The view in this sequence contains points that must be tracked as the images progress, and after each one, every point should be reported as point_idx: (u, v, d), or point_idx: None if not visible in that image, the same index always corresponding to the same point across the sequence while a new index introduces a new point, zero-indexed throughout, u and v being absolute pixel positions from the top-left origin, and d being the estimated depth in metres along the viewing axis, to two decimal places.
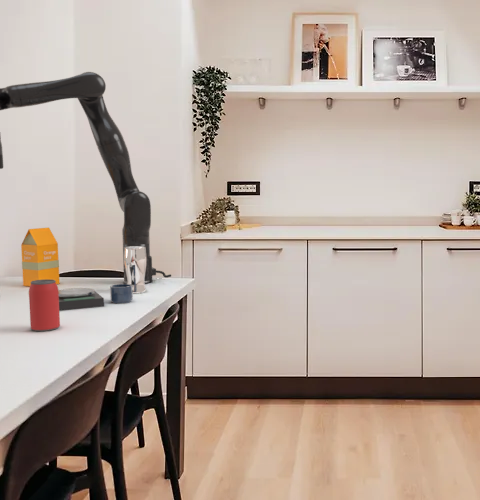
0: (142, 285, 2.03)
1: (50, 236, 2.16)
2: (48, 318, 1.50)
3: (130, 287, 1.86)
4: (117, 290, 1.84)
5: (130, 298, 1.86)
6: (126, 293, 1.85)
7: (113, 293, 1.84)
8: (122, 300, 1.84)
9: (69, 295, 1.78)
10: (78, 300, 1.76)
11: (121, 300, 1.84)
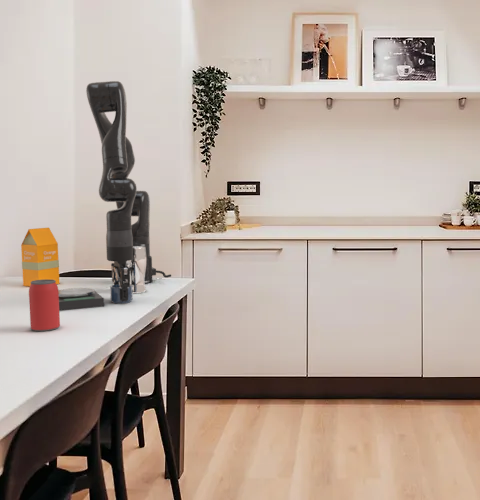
0: (142, 285, 2.03)
1: (49, 236, 2.16)
2: (48, 318, 1.50)
3: (130, 287, 1.86)
4: (117, 290, 1.84)
5: (130, 298, 1.86)
6: None
7: (113, 293, 1.84)
8: None
9: (69, 295, 1.78)
10: (78, 300, 1.76)
11: None
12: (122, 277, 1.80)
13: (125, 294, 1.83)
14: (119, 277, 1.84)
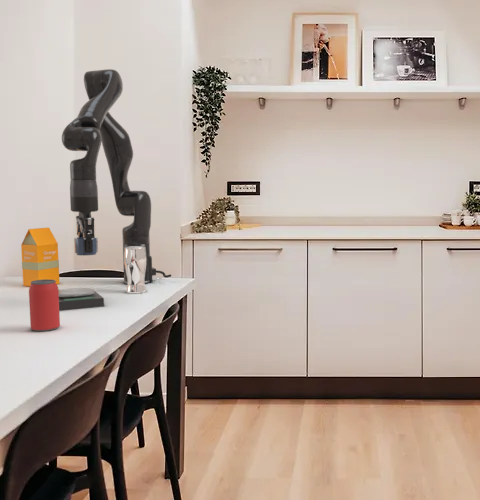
0: (142, 285, 2.03)
1: (49, 236, 2.16)
2: (48, 318, 1.50)
3: (95, 239, 1.82)
4: (82, 241, 1.79)
5: (95, 250, 1.82)
6: None
7: (77, 245, 1.80)
8: None
9: (69, 295, 1.78)
10: (78, 300, 1.76)
11: None
12: (86, 227, 1.76)
13: (89, 245, 1.79)
14: (83, 228, 1.80)
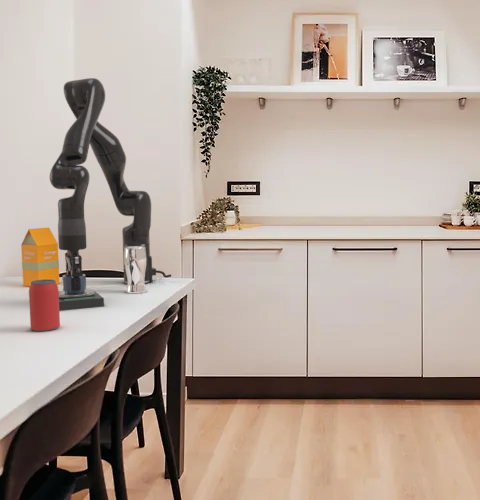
0: (142, 285, 2.03)
1: (49, 236, 2.16)
2: (48, 318, 1.50)
3: (83, 277, 1.82)
4: (69, 279, 1.80)
5: (83, 288, 1.82)
6: None
7: (65, 283, 1.80)
8: None
9: (69, 296, 1.78)
10: (78, 300, 1.76)
11: None
12: (73, 266, 1.76)
13: (77, 284, 1.79)
14: (71, 266, 1.80)
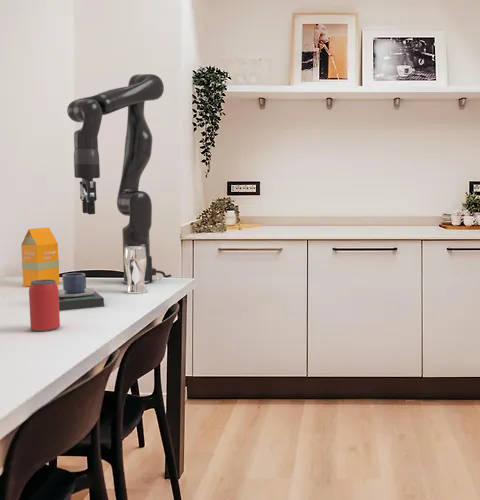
0: (142, 285, 2.03)
1: (49, 236, 2.16)
2: (48, 318, 1.50)
3: (83, 276, 1.82)
4: (69, 279, 1.80)
5: (83, 287, 1.82)
6: (78, 282, 1.81)
7: (65, 282, 1.80)
8: (74, 289, 1.80)
9: (69, 295, 1.78)
10: (78, 300, 1.76)
11: (73, 289, 1.80)
12: (88, 190, 1.91)
13: (92, 207, 1.94)
14: None
